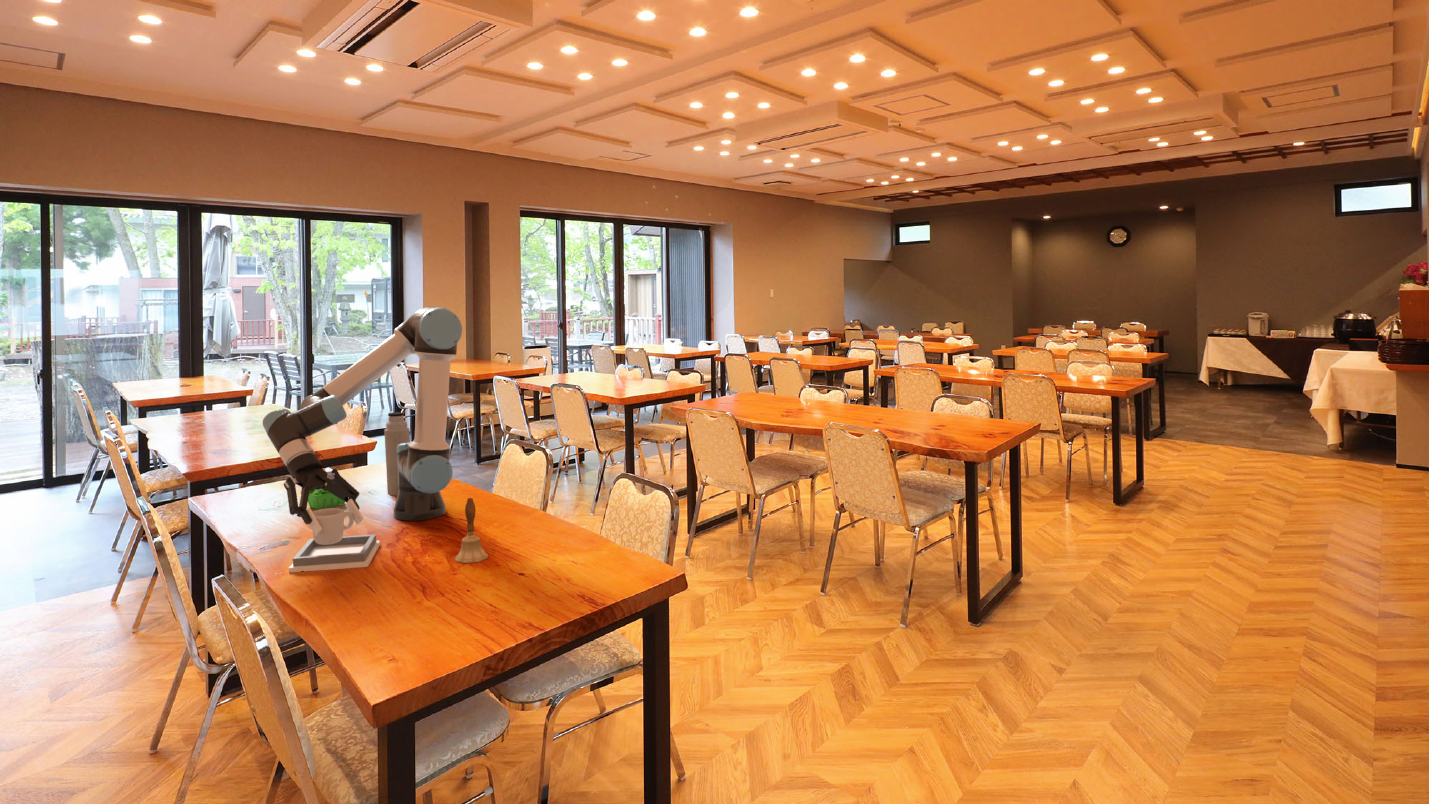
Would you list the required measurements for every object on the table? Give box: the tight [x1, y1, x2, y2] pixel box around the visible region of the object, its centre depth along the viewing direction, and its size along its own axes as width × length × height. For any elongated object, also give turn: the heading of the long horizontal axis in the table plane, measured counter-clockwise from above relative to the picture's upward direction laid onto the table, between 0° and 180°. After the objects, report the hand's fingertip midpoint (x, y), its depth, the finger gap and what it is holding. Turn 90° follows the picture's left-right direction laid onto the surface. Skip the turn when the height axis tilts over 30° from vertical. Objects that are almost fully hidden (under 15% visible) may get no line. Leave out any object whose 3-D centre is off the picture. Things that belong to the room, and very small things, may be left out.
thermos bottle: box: [383, 411, 411, 496], centre depth 266 cm, size 8×8×28 cm
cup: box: [312, 507, 355, 545], centre depth 199 cm, size 11×8×8 cm
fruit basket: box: [307, 477, 346, 510], centre depth 249 cm, size 11×9×11 cm
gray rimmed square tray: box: [288, 533, 381, 573], centre depth 201 cm, size 18×18×3 cm
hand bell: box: [454, 497, 489, 564], centre depth 200 cm, size 8×8×16 cm
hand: (340, 526), depth 198 cm, fingers closed on cup, 11 cm apart
